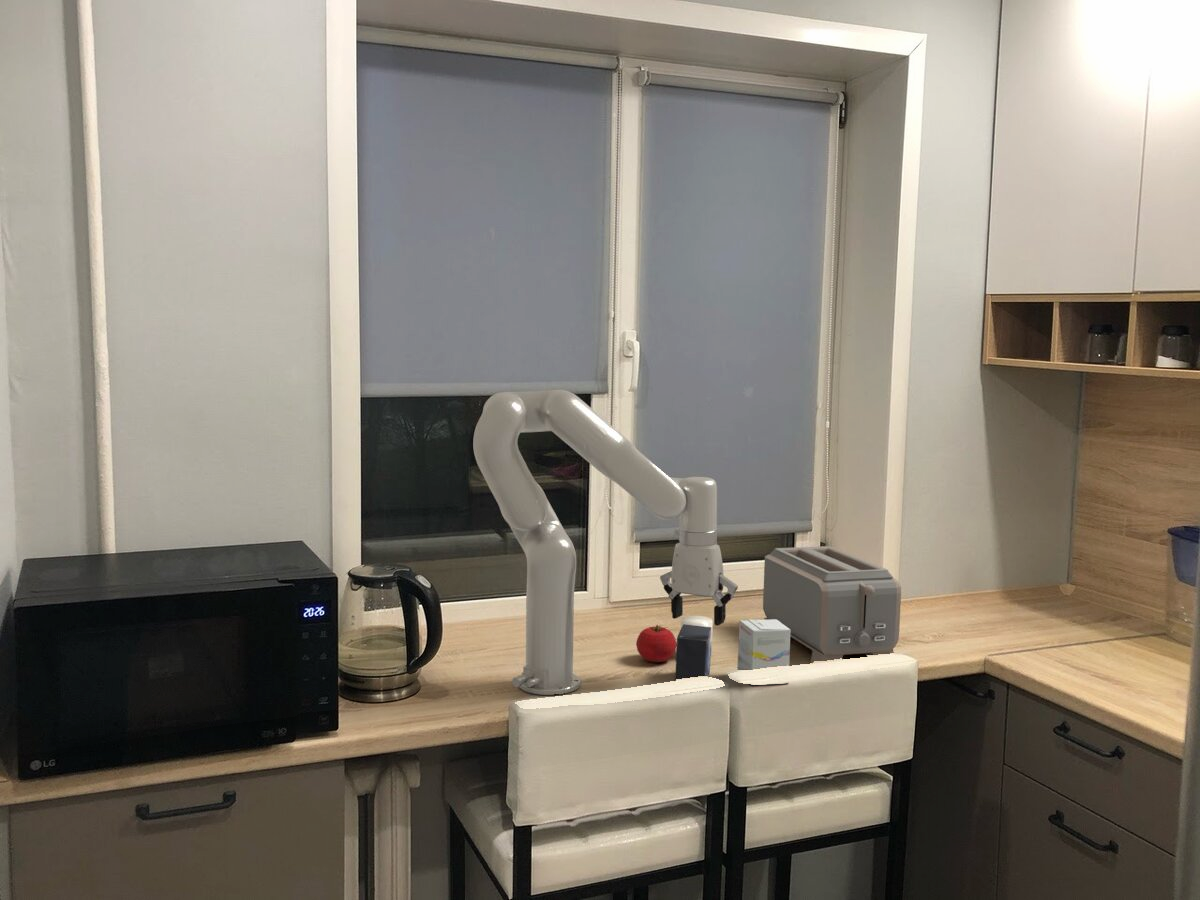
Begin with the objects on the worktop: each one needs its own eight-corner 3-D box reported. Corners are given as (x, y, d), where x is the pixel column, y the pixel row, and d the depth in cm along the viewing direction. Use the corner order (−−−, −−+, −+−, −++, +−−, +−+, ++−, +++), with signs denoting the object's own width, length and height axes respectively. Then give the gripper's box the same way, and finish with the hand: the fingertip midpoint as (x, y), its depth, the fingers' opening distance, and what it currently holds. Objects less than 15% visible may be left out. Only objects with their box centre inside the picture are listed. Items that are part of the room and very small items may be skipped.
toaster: (827, 673, 215) (831, 579, 213) (758, 628, 249) (761, 546, 246) (907, 667, 220) (912, 575, 218) (829, 623, 254) (832, 543, 252)
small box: (706, 691, 203) (707, 640, 202) (673, 688, 204) (675, 637, 203) (711, 674, 213) (712, 625, 212) (680, 671, 214) (681, 623, 213)
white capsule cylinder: (702, 661, 221) (703, 626, 220) (674, 655, 225) (675, 620, 224) (717, 653, 227) (718, 619, 226) (689, 648, 231) (690, 614, 230)
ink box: (789, 684, 207) (792, 628, 206) (750, 686, 206) (752, 630, 204) (774, 671, 216) (776, 617, 214) (736, 673, 214) (738, 618, 213)
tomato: (656, 651, 228) (657, 617, 227) (684, 661, 221) (685, 625, 220) (627, 659, 222) (628, 623, 221) (655, 669, 215) (656, 633, 214)
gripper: (651, 537, 207) (652, 618, 209) (728, 546, 197) (727, 631, 199) (670, 531, 213) (670, 610, 215) (745, 539, 204) (744, 622, 205)
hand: (698, 620), depth 207 cm, fingers open, 9 cm apart
